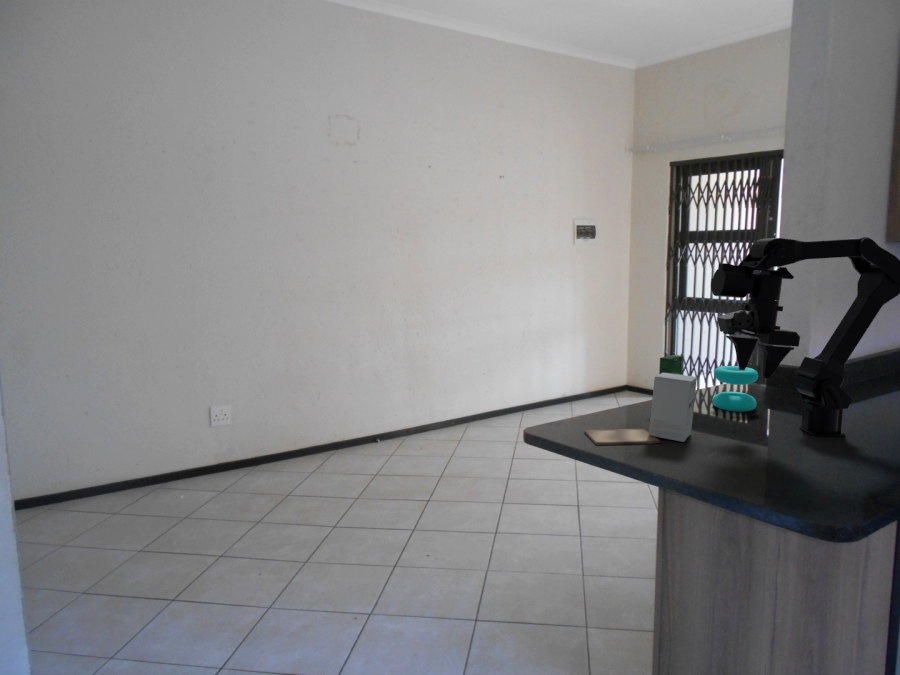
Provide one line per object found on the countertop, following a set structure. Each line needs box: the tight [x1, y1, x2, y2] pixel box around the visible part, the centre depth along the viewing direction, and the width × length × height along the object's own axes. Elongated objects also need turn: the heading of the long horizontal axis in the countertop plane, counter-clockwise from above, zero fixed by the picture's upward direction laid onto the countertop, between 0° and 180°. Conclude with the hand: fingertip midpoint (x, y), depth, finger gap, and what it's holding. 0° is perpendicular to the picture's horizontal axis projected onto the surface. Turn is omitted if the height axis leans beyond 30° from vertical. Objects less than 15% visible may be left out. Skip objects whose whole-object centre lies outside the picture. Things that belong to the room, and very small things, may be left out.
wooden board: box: [583, 428, 661, 446], centre depth 127 cm, size 13×9×1 cm
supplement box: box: [648, 373, 698, 443], centre depth 126 cm, size 7×7×13 cm
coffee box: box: [658, 354, 684, 375], centre depth 151 cm, size 8×3×13 cm, turn 137°
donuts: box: [712, 365, 759, 413], centre depth 151 cm, size 10×10×10 cm
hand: (753, 373), depth 127 cm, fingers open, 9 cm apart
